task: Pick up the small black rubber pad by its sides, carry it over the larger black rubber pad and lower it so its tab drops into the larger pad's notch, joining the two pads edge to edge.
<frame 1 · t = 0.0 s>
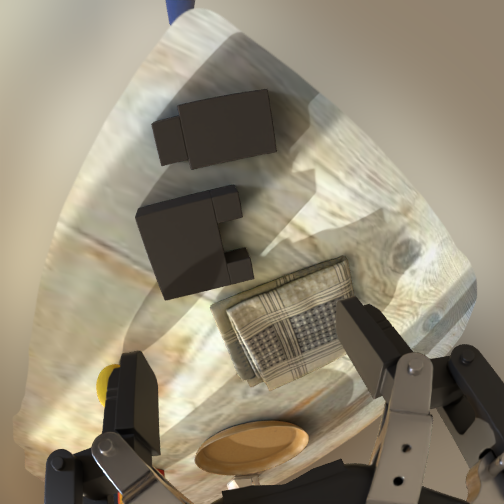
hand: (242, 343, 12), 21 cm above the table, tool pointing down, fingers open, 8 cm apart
dish towel: (290, 325, 42), on the table
lemon: (118, 364, 39), on the table
plant saucer: (249, 441, 57), on the table
skyscraper: (239, 480, 68), on the table
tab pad: (225, 126, 28), on the table
notch pad: (196, 239, 33), on the table
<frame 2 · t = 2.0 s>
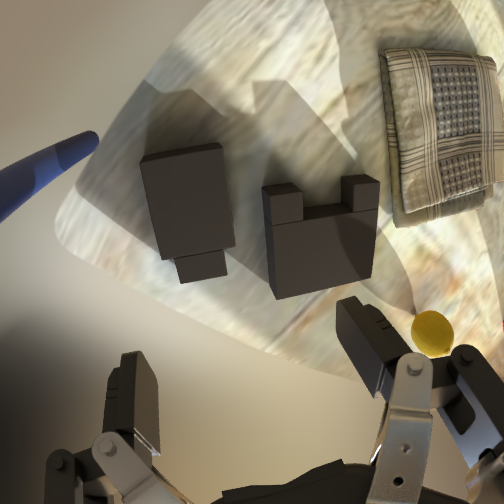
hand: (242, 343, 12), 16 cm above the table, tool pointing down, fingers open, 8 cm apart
dish towel: (445, 132, 27), on the table
lemon: (415, 314, 39), on the table
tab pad: (188, 196, 25), on the table
notch pad: (317, 230, 29), on the table
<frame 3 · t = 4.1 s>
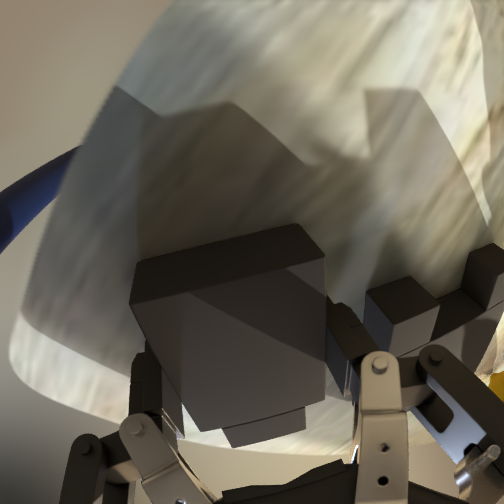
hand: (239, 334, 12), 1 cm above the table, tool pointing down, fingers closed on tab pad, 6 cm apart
lemon: (490, 373, 26), on the table
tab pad: (237, 324, 13), on the table, touching gripper
notch pad: (426, 330, 17), on the table
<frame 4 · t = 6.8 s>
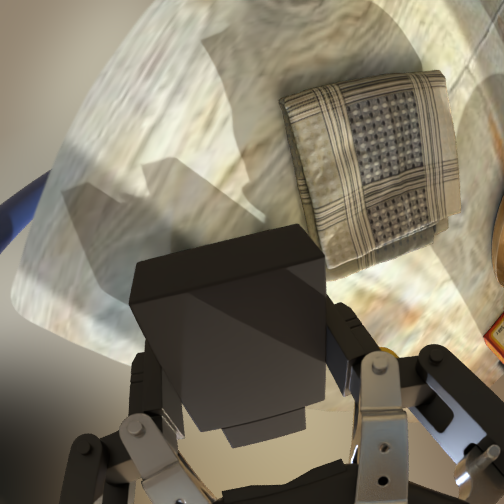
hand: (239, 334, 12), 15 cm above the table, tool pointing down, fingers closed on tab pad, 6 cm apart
dish towel: (380, 170, 27), on the table
baking soda box: (497, 325, 51), on the table
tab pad: (237, 324, 13), point 14 cm above the table, touching gripper
when the fingers open (1 cm above the table, at t = 9.7 s): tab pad stays where it is, on the table.
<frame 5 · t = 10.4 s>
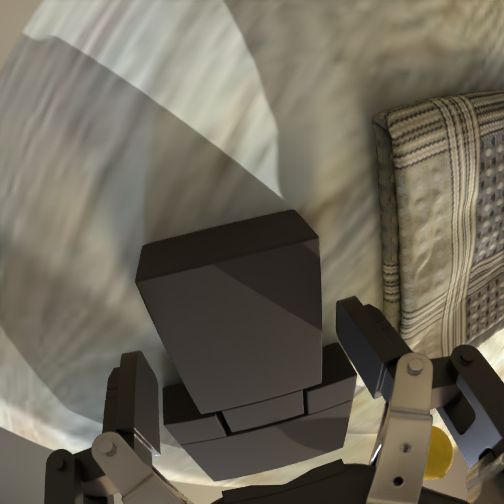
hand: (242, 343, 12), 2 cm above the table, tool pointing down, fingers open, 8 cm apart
dish towel: (484, 234, 16), on the table
lemon: (412, 425, 28), on the table
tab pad: (237, 307, 14), on the table
notch pad: (263, 412, 18), on the table
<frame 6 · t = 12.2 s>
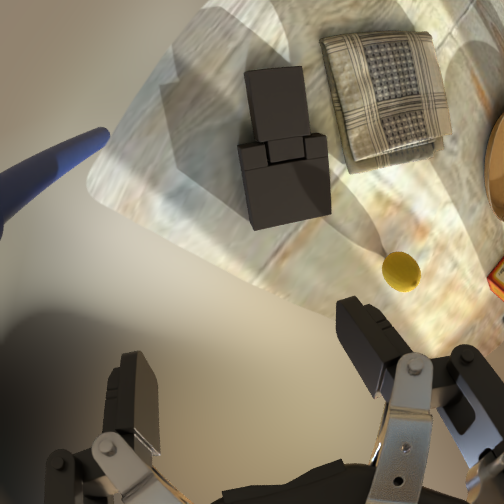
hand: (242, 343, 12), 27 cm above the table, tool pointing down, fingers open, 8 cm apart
dish towel: (388, 97, 34), on the table
lemon: (387, 257, 47), on the table
baking soda box: (499, 269, 57), on the table
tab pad: (274, 102, 32), on the table
notch pad: (283, 177, 37), on the table
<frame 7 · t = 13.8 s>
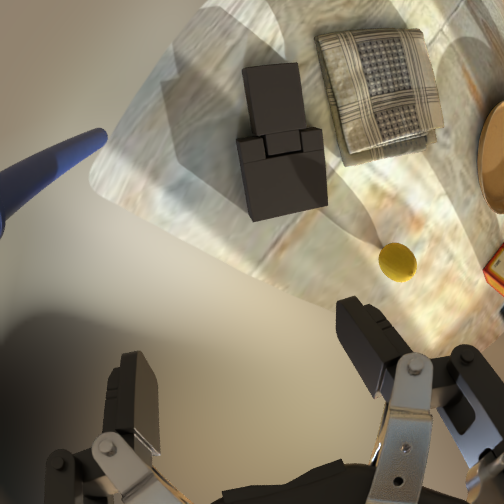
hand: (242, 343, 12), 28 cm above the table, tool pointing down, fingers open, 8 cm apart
dish towel: (381, 92, 35), on the table
lemon: (383, 249, 48), on the table
plant saucer: (501, 153, 44), on the table
baking soda box: (495, 262, 59), on the table
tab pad: (271, 97, 33), on the table
notch pad: (281, 170, 38), on the table
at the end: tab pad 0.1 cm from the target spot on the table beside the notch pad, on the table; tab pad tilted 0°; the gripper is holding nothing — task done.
